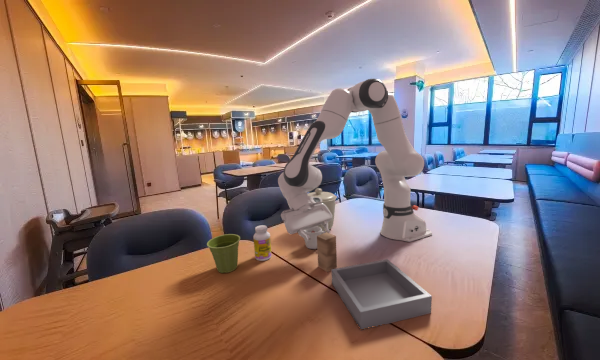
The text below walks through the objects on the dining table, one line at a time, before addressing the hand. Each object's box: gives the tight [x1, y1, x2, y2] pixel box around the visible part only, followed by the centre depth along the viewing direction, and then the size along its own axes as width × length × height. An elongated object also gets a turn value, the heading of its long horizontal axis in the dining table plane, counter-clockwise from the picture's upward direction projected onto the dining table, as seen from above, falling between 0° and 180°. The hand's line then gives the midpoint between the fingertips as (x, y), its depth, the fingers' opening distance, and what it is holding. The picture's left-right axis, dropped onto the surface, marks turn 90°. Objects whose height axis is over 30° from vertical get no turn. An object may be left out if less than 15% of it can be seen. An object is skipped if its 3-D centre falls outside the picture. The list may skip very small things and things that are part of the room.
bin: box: [330, 258, 433, 330], centre depth 70 cm, size 20×20×5 cm
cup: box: [304, 226, 324, 250], centre depth 104 cm, size 11×8×8 cm
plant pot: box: [206, 233, 241, 274], centre depth 90 cm, size 12×12×11 cm
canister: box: [307, 187, 338, 231], centre depth 124 cm, size 18×18×21 cm
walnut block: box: [317, 232, 338, 273], centre depth 87 cm, size 5×5×12 cm
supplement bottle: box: [252, 224, 272, 262], centre depth 97 cm, size 7×7×13 cm
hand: (318, 236), depth 90 cm, fingers open, 8 cm apart
